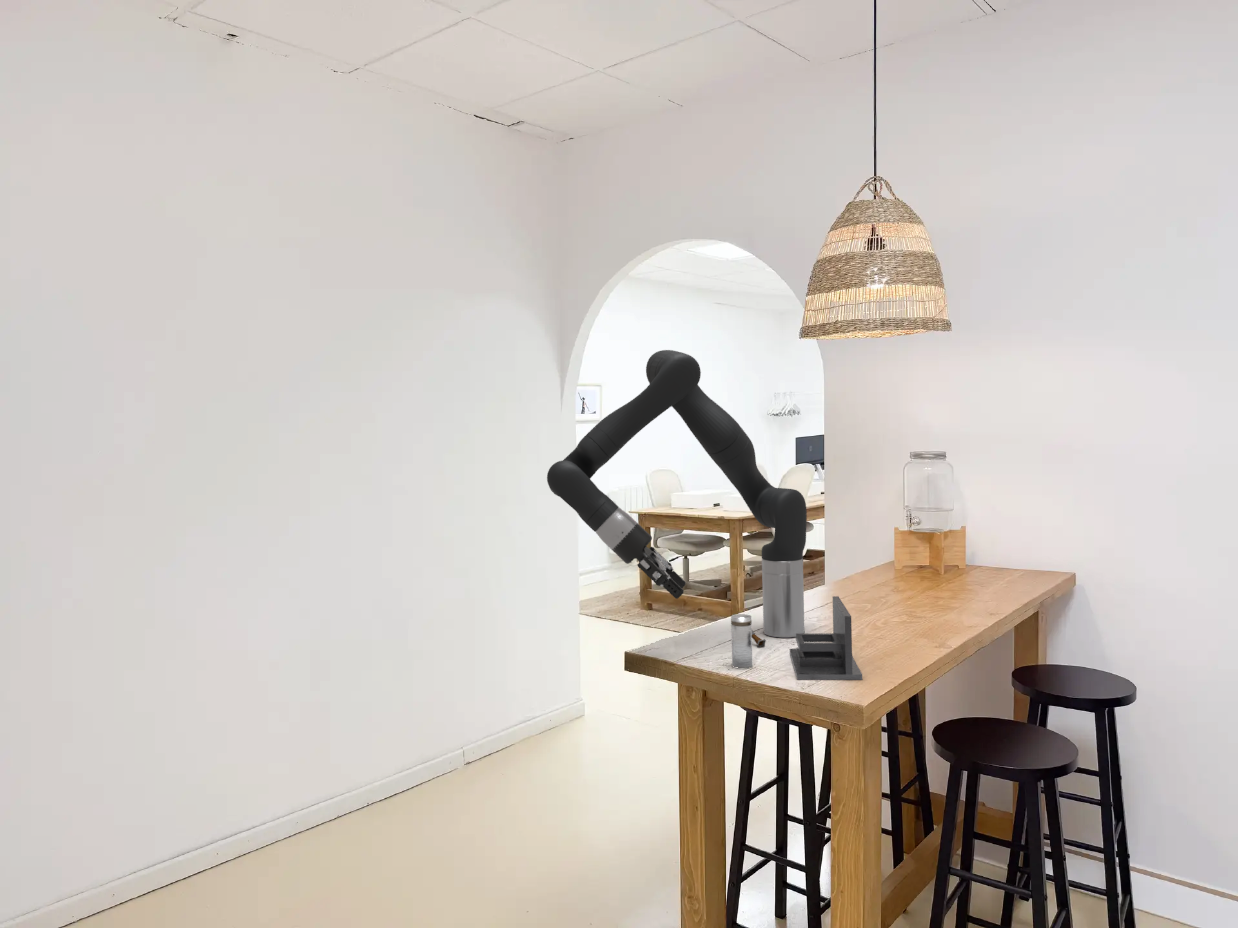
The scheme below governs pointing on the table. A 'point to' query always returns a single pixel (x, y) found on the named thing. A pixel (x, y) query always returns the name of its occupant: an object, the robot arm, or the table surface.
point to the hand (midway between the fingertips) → (681, 591)
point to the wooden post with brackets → (758, 640)
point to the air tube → (741, 640)
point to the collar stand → (827, 651)
